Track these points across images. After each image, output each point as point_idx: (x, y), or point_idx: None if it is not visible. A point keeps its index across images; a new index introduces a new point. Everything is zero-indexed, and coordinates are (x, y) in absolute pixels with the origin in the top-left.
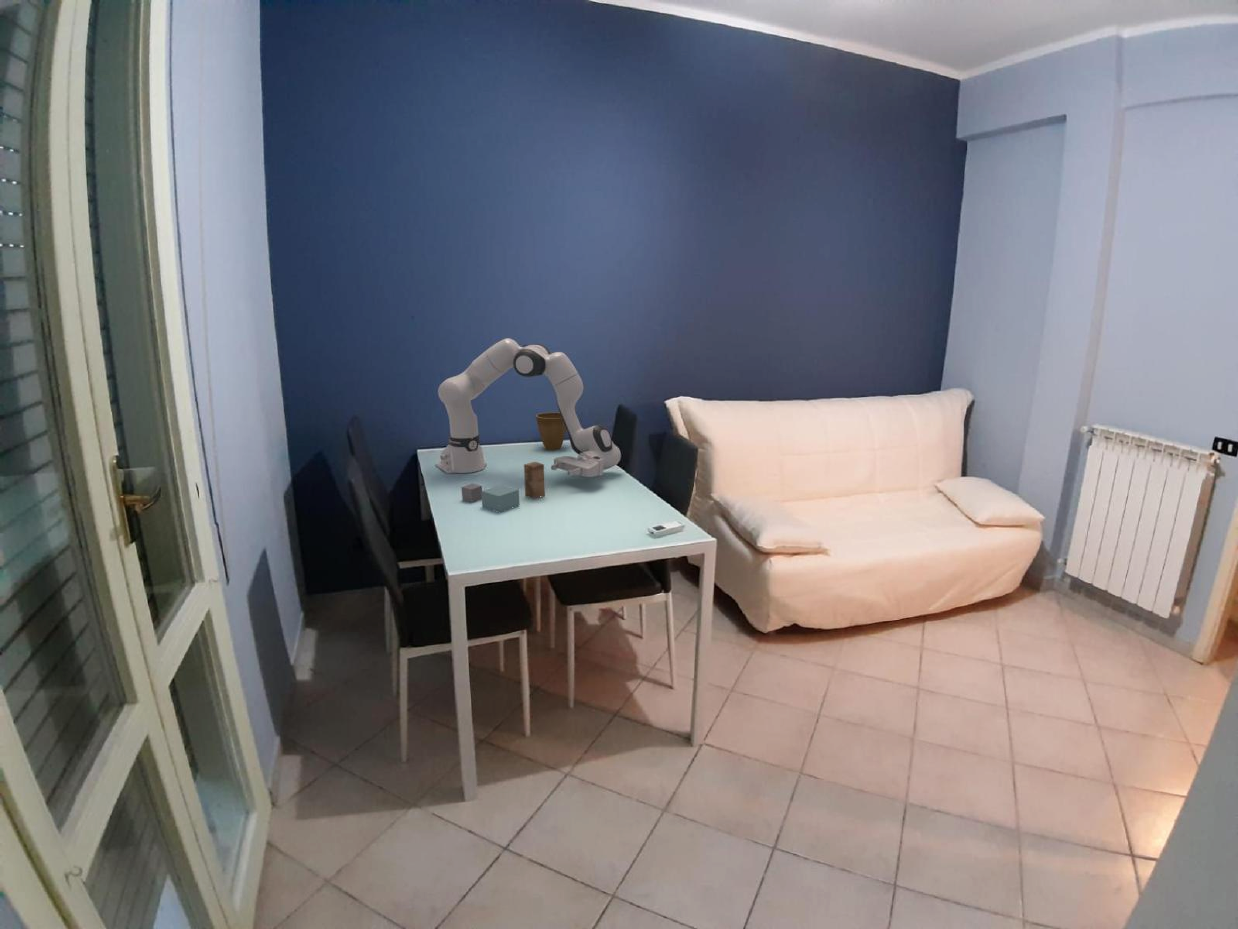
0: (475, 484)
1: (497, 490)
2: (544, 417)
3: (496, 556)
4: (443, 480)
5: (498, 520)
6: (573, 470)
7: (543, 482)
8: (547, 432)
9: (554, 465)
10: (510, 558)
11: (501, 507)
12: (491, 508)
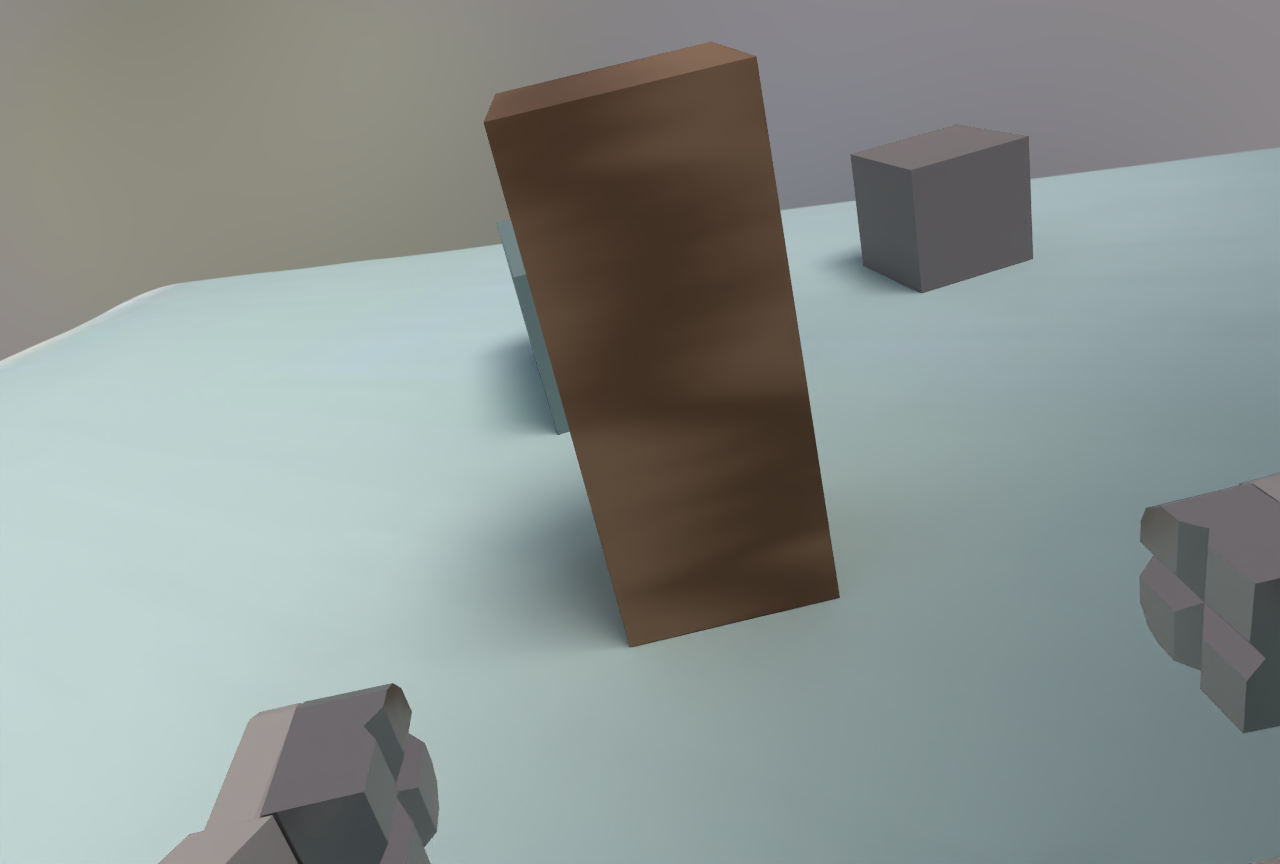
0: (981, 148)
1: None
2: None
3: (105, 341)
4: None
5: (419, 347)
6: (213, 832)
7: (575, 442)
8: None
9: (1221, 519)
10: (30, 366)
11: (525, 324)
12: None
